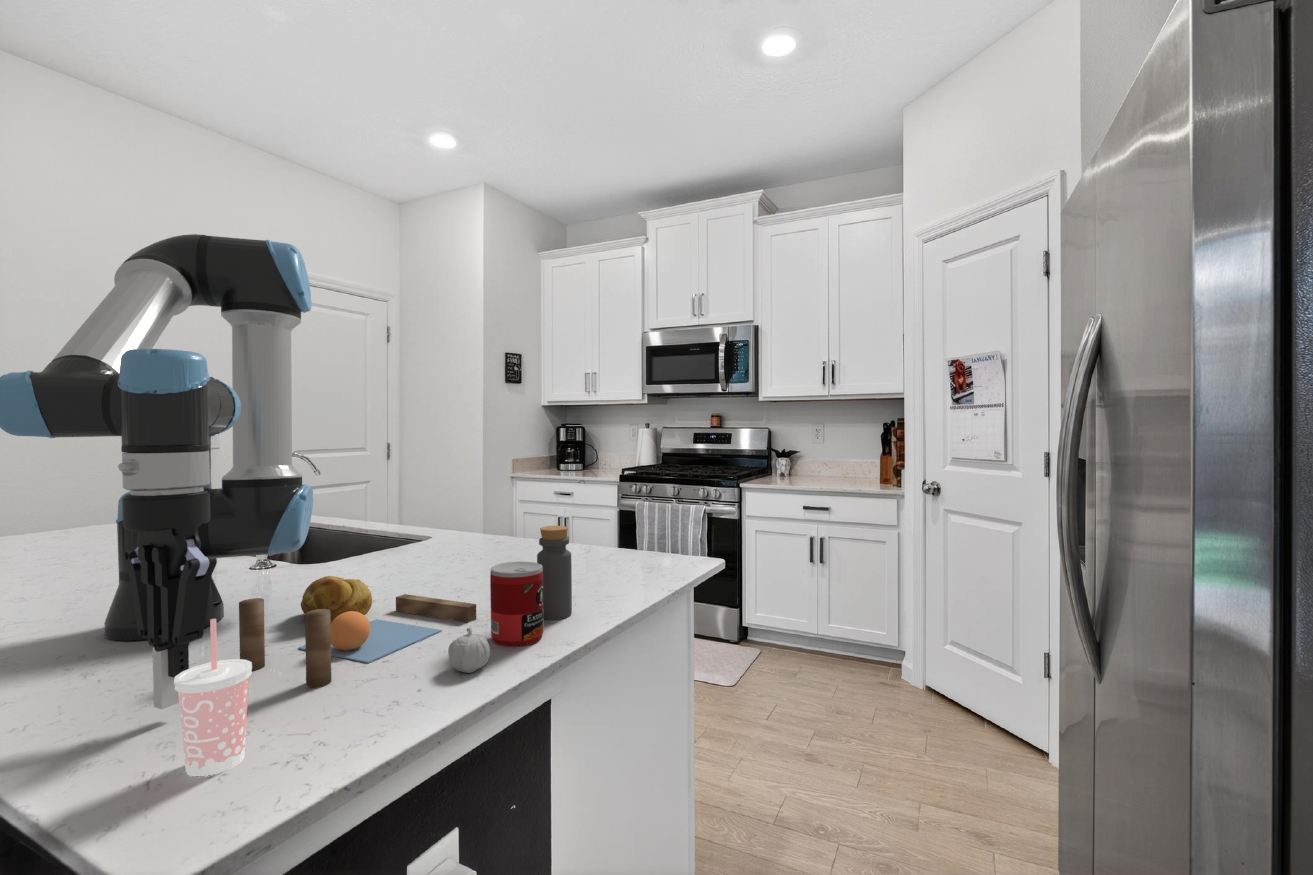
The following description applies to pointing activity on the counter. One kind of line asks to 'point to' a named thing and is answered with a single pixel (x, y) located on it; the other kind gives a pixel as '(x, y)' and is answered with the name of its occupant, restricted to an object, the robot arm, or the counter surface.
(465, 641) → the garlic
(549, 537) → the bottle
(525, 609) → the canned food
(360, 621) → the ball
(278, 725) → the counter surface
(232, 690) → the beverage cup
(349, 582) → the bread roll
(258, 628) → the left post
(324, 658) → the right post
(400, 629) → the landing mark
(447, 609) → the bar
